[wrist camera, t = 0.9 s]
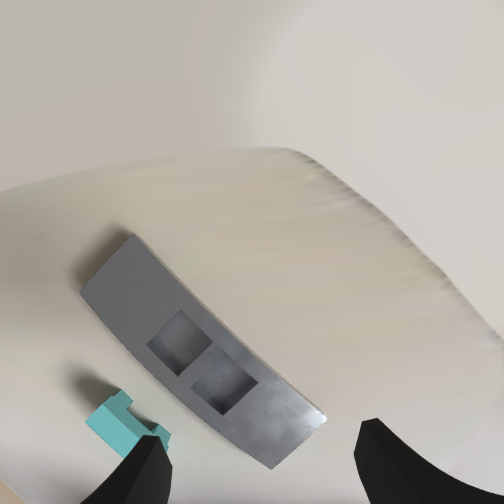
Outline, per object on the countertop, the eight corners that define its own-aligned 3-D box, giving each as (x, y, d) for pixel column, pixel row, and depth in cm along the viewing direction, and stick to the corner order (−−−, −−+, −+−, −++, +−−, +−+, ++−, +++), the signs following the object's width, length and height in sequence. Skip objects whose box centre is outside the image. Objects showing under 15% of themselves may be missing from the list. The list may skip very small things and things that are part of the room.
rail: (266, 455, 25) (271, 469, 22) (92, 292, 26) (78, 292, 23) (318, 407, 26) (327, 418, 23) (142, 239, 27) (133, 233, 24)
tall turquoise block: (172, 435, 25) (164, 459, 20) (154, 450, 24) (144, 474, 19) (120, 387, 25) (102, 403, 20) (103, 404, 24) (84, 421, 19)
